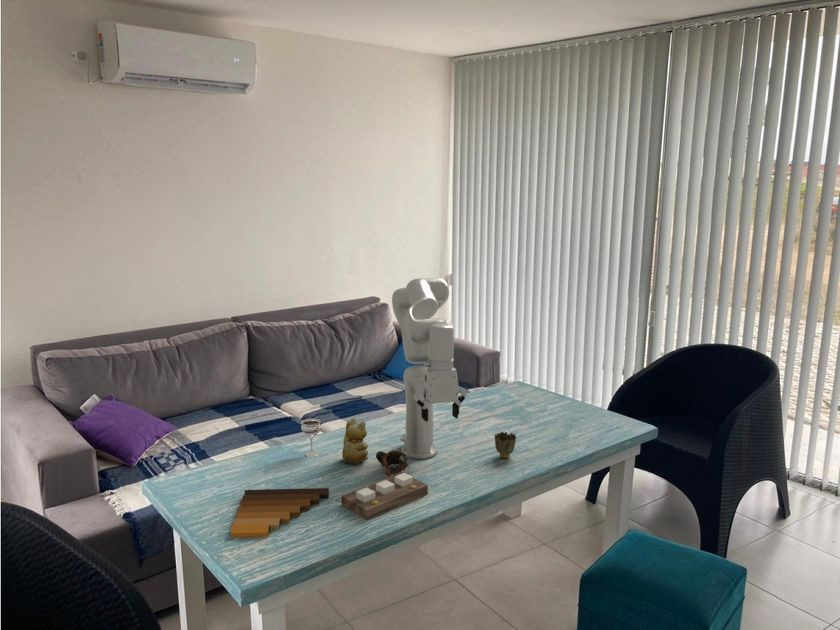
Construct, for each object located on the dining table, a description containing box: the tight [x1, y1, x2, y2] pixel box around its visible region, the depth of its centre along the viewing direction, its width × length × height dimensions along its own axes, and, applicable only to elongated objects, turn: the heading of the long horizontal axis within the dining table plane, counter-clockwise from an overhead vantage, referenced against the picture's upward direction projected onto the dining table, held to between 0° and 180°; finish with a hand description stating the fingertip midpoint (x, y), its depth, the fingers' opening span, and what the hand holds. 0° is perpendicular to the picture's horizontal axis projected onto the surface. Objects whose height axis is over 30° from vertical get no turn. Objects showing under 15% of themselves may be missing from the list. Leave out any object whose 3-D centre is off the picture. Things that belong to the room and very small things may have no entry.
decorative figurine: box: [341, 417, 369, 465], centre depth 238 cm, size 10×8×15 cm
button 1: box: [356, 487, 375, 503], centre depth 207 cm, size 4×4×2 cm
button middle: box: [376, 480, 395, 495], centre depth 212 cm, size 4×4×2 cm
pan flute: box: [230, 487, 330, 538], centre depth 203 cm, size 25×3×25 cm
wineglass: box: [300, 417, 322, 458], centre depth 244 cm, size 7×7×12 cm
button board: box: [340, 471, 429, 521], centre depth 212 cm, size 12×24×3 cm, turn 133°
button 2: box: [395, 472, 414, 487], centre depth 217 cm, size 4×4×2 cm
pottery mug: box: [375, 449, 410, 478], centre depth 232 cm, size 12×10×8 cm
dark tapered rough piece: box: [494, 431, 517, 460], centre depth 243 cm, size 8×7×8 cm
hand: (440, 418), depth 215 cm, fingers open, 9 cm apart
